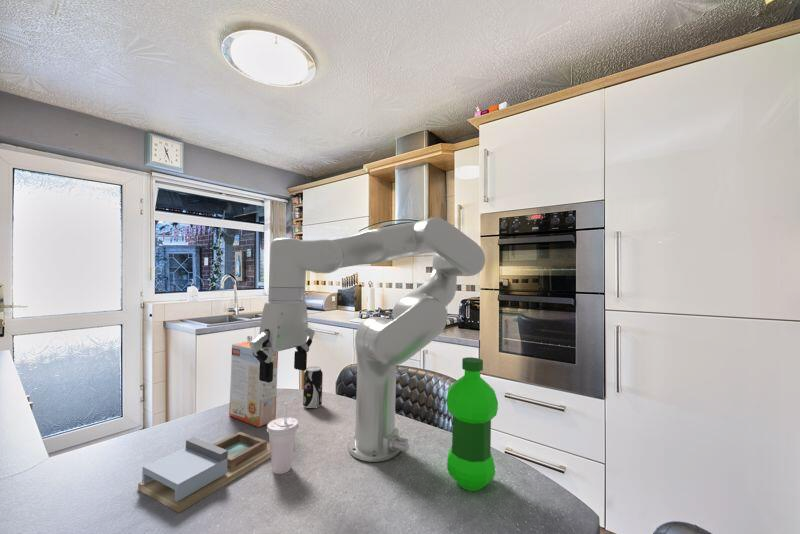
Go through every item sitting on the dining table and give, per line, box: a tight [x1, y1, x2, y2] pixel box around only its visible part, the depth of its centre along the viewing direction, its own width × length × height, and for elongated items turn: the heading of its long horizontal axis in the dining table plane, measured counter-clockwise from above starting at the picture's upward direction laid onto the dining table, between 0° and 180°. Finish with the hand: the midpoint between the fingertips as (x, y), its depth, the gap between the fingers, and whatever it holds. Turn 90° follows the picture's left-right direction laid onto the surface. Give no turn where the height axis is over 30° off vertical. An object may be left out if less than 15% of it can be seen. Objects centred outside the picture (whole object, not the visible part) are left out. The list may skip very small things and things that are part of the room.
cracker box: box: [228, 341, 279, 428], centre depth 96 cm, size 14×6×21 cm, turn 58°
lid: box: [141, 436, 228, 502], centre depth 65 cm, size 11×10×4 cm
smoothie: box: [266, 402, 299, 475], centre depth 71 cm, size 6×6×14 cm
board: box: [137, 431, 271, 514], centre depth 71 cm, size 13×23×3 cm, turn 153°
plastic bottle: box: [446, 356, 499, 492], centre depth 68 cm, size 10×10×25 cm
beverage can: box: [302, 366, 323, 409], centre depth 105 cm, size 6×6×12 cm
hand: (284, 375), depth 72 cm, fingers open, 9 cm apart
